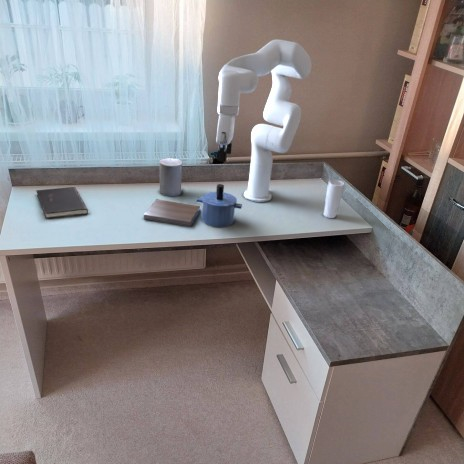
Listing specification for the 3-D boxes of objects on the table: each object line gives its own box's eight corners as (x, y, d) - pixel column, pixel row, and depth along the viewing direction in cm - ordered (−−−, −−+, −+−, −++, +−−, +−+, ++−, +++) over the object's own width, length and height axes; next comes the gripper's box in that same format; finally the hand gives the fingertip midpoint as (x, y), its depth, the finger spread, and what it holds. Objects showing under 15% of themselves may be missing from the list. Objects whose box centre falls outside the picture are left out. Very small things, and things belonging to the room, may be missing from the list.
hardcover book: (45, 218, 184) (45, 213, 183) (36, 195, 200) (36, 190, 199) (88, 214, 190) (87, 208, 189) (76, 191, 207) (75, 186, 205)
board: (156, 203, 204) (156, 199, 203) (200, 210, 202) (200, 205, 201) (143, 219, 191) (143, 214, 190) (190, 226, 189) (190, 221, 188)
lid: (206, 192, 198) (207, 176, 194) (239, 197, 196) (240, 181, 192) (198, 205, 187) (199, 189, 183) (233, 211, 185) (234, 194, 181)
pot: (200, 210, 202) (200, 190, 197) (242, 216, 200) (244, 197, 195) (192, 222, 192) (193, 202, 187) (237, 230, 190) (239, 210, 185)
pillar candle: (155, 193, 212) (155, 159, 204) (166, 186, 220) (166, 153, 211) (175, 198, 210) (175, 164, 201) (185, 190, 217) (186, 158, 209)
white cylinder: (338, 214, 210) (345, 181, 202) (335, 220, 205) (343, 187, 196) (323, 211, 212) (330, 178, 203) (320, 217, 207) (327, 183, 198)
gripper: (222, 103, 179) (219, 149, 188) (212, 113, 165) (209, 162, 174) (242, 105, 178) (237, 152, 188) (234, 116, 164) (229, 165, 174)
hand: (224, 157), depth 181 cm, fingers open, 9 cm apart
